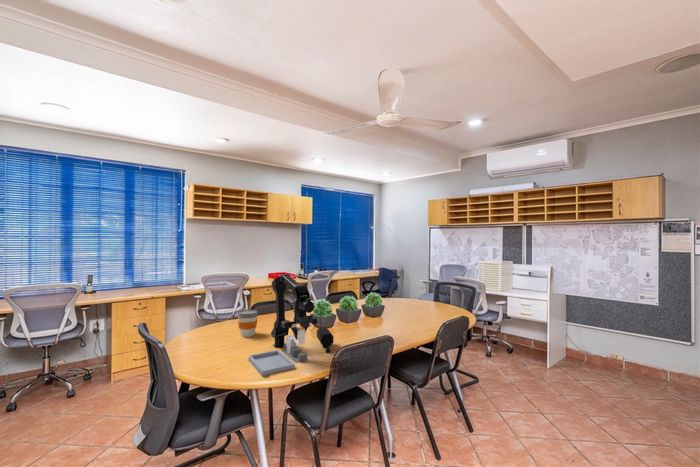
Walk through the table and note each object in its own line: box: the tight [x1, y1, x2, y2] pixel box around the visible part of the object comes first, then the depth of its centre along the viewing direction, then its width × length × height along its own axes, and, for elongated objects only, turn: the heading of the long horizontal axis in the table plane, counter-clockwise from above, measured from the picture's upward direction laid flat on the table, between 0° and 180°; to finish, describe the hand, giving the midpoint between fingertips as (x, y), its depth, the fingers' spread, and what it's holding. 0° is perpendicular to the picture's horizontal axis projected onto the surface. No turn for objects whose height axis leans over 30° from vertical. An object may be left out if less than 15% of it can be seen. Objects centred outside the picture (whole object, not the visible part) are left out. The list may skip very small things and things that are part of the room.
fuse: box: [285, 335, 297, 353], centre depth 180 cm, size 6×3×8 cm, turn 32°
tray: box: [248, 349, 296, 377], centre depth 163 cm, size 23×16×2 cm
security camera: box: [316, 326, 335, 354], centre depth 188 cm, size 7×18×10 cm, turn 16°
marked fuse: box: [293, 325, 306, 345], centre depth 170 cm, size 6×3×8 cm, turn 32°
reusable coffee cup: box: [237, 309, 259, 338], centre depth 211 cm, size 13×13×15 cm
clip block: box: [280, 342, 310, 364], centre depth 175 cm, size 21×8×4 cm, turn 32°
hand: (299, 338), depth 170 cm, fingers closed on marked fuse, 3 cm apart
